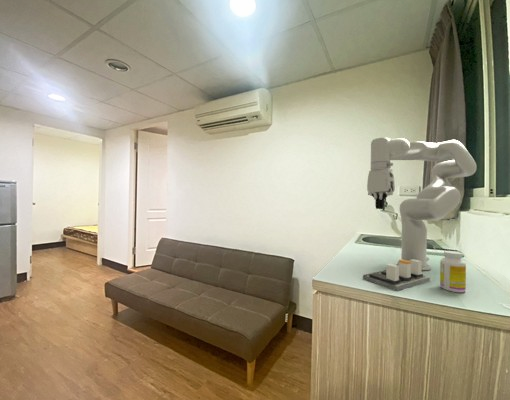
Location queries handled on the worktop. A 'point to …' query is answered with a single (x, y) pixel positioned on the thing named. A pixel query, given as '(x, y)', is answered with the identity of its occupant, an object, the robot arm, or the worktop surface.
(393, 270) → the block
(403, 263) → the block
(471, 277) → the worktop surface
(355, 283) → the worktop surface
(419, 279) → the panel
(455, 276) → the supplement bottle
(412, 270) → the block
